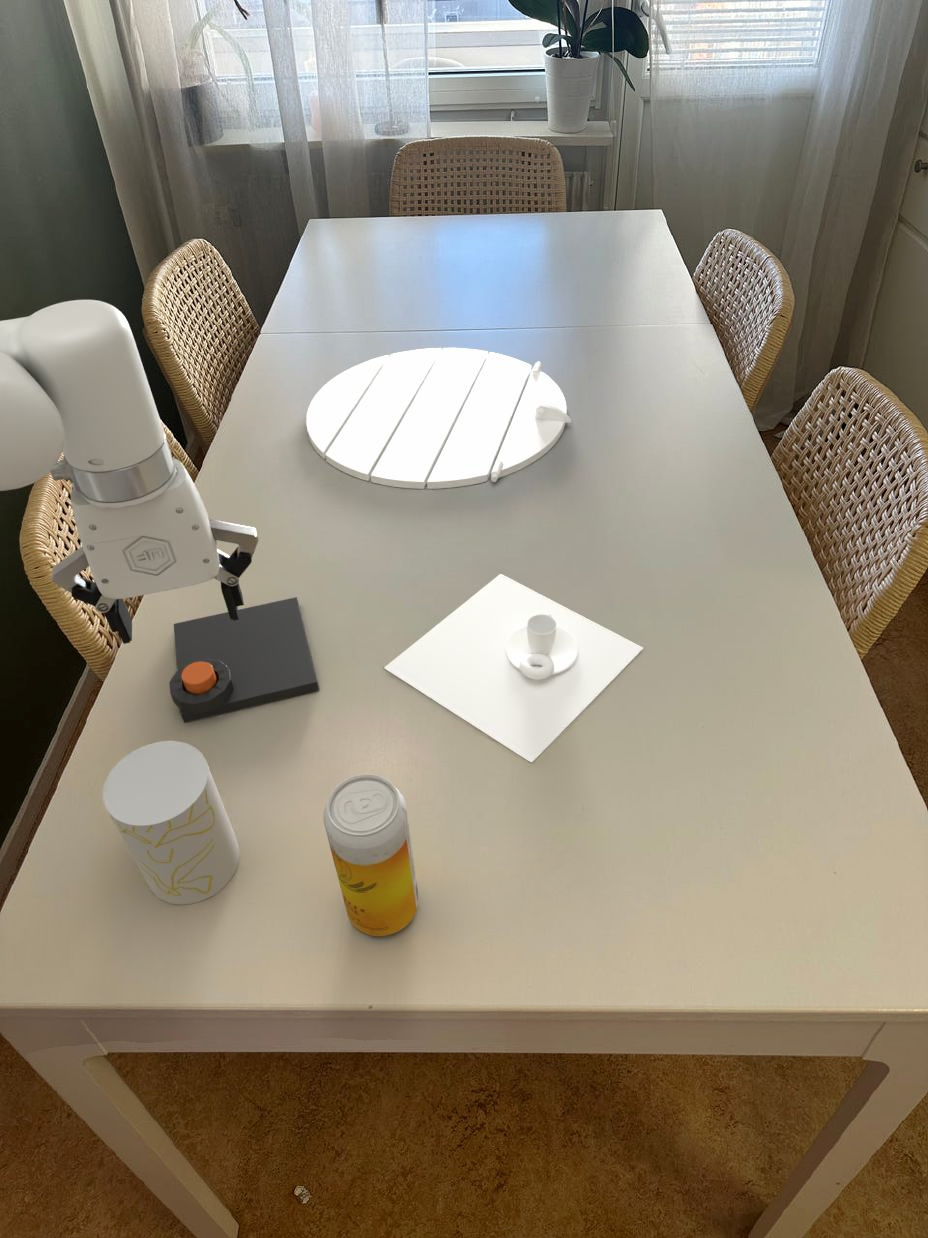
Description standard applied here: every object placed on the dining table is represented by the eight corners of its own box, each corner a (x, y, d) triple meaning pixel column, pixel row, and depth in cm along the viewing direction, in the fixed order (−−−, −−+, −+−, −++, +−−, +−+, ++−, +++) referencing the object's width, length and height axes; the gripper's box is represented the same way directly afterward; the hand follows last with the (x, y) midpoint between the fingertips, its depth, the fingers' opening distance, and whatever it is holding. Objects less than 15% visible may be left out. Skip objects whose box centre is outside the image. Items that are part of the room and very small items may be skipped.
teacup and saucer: (544, 694, 90) (545, 667, 87) (485, 659, 94) (484, 632, 91) (592, 647, 94) (595, 620, 92) (534, 616, 98) (535, 589, 95)
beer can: (340, 885, 75) (314, 782, 64) (409, 865, 76) (393, 760, 66) (355, 950, 70) (329, 850, 60) (427, 928, 72) (414, 825, 61)
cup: (146, 915, 73) (101, 837, 65) (146, 835, 79) (104, 754, 71) (243, 890, 75) (211, 810, 66) (235, 813, 80) (205, 731, 72)
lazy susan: (589, 365, 141) (590, 345, 139) (546, 505, 114) (547, 483, 111) (357, 345, 149) (355, 326, 147) (265, 471, 122) (260, 450, 119)
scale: (179, 728, 88) (171, 709, 86) (171, 633, 98) (164, 614, 96) (320, 694, 91) (315, 675, 89) (299, 605, 101) (294, 586, 99)
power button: (186, 697, 88) (182, 687, 86) (184, 675, 90) (180, 665, 89) (217, 690, 88) (214, 679, 87) (215, 668, 90) (211, 658, 89)
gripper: (2, 513, 64) (83, 671, 76) (237, 470, 67) (279, 628, 79) (12, 460, 69) (86, 615, 81) (230, 422, 72) (271, 577, 84)
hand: (181, 621), depth 80 cm, fingers open, 9 cm apart
